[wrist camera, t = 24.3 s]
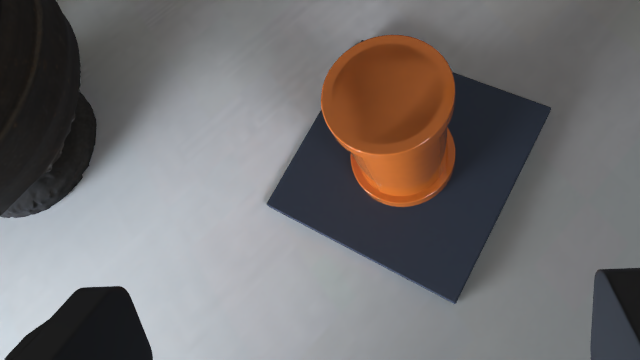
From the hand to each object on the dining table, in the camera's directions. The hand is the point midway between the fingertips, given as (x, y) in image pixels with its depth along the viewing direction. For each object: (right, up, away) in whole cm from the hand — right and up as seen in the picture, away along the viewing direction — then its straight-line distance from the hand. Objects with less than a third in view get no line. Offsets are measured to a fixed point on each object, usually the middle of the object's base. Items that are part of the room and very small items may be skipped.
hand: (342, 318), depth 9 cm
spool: (+4, +4, +21) cm, 22 cm away
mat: (+4, +3, +22) cm, 22 cm away
